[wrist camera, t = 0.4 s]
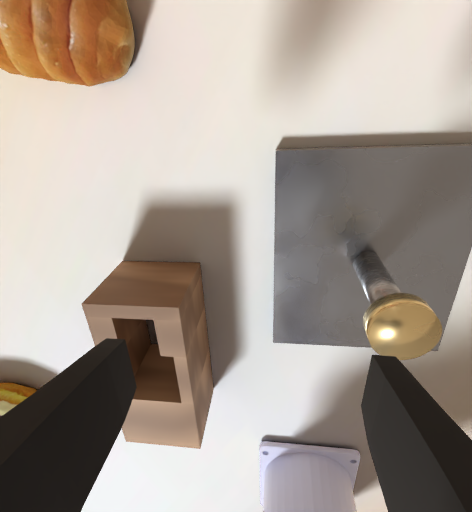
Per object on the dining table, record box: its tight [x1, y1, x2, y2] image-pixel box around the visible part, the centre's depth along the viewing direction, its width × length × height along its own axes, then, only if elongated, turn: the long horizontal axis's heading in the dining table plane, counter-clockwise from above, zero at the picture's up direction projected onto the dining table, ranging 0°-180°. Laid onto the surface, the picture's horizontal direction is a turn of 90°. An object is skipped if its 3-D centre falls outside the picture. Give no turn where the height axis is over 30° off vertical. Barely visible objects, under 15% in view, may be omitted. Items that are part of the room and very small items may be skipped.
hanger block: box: [82, 261, 214, 449], centre depth 20 cm, size 11×5×5 cm, turn 2°
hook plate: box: [273, 144, 472, 360], centre depth 15 cm, size 12×10×6 cm
